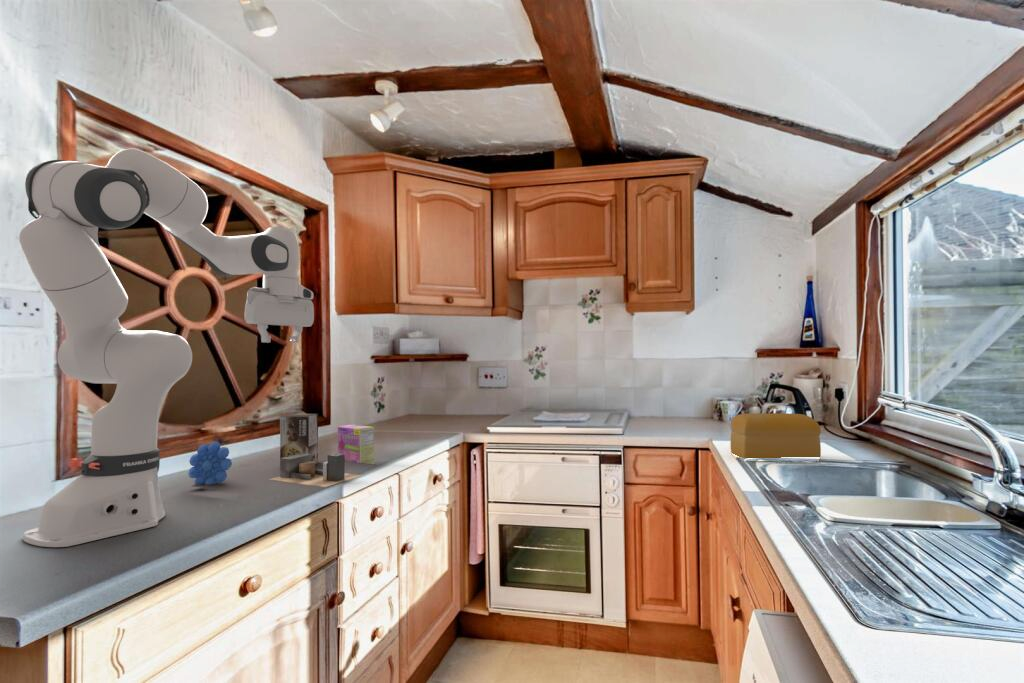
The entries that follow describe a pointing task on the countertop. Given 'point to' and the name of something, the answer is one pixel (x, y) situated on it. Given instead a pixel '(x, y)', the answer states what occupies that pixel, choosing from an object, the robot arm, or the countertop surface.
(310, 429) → the coffee box
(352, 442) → the box
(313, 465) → the nut puck
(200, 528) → the countertop surface
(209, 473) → the grapes
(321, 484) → the bench
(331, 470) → the ram handle
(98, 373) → the robot arm
